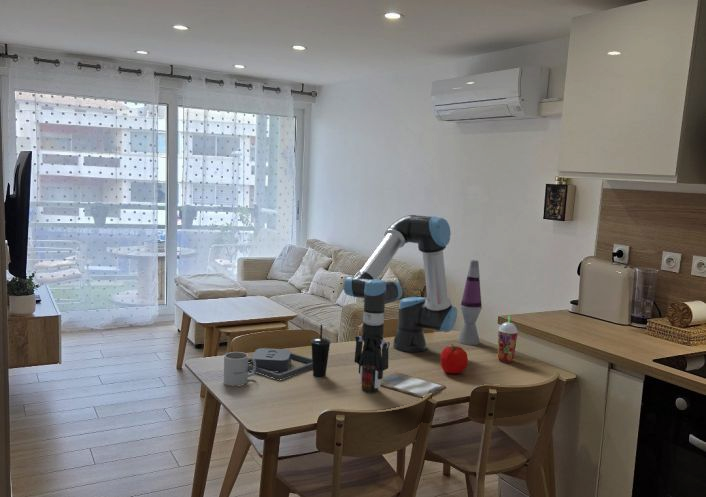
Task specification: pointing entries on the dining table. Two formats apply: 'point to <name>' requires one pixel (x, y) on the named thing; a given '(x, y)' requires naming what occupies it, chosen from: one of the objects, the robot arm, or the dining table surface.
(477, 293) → the lamp
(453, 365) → the tomato
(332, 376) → the dining table surface
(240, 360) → the mug
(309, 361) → the frame
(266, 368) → the streaming box
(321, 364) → the drinking cup
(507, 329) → the smoothie
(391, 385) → the silver rectangular panel
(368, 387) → the deodorant
